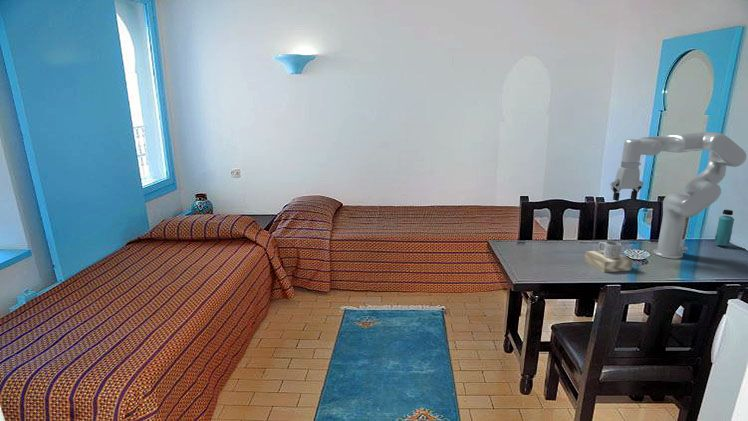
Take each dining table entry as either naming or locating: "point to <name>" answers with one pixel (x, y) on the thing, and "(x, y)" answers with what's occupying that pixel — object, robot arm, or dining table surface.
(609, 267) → the base block
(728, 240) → the beverage bottle
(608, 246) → the mug
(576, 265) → the dining table surface
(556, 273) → the dining table surface
